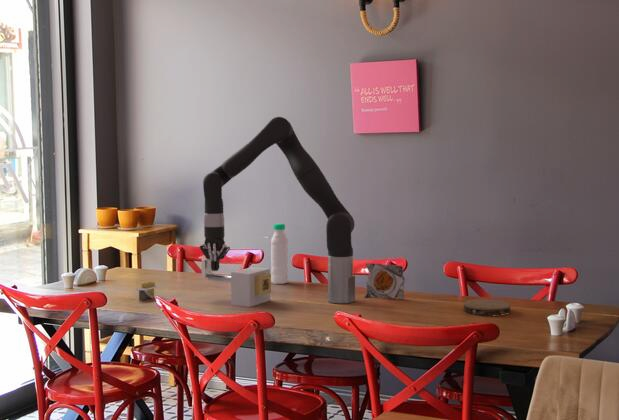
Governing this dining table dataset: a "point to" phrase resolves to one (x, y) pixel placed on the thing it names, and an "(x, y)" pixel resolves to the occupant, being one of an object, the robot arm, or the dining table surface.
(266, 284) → the spacer
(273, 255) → the water bottle
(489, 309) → the dark brown disc
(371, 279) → the meal
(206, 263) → the shaft
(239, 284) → the block
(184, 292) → the dining table surface
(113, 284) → the dining table surface
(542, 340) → the dining table surface
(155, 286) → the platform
